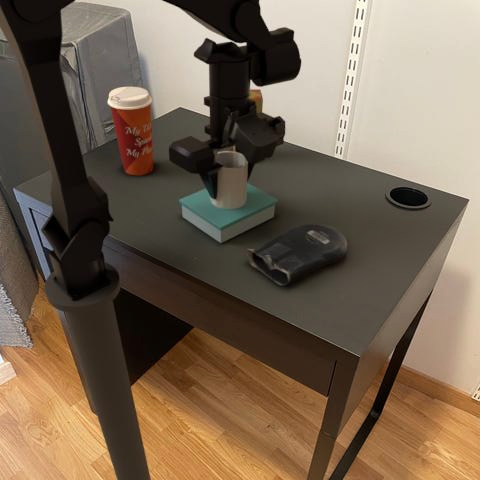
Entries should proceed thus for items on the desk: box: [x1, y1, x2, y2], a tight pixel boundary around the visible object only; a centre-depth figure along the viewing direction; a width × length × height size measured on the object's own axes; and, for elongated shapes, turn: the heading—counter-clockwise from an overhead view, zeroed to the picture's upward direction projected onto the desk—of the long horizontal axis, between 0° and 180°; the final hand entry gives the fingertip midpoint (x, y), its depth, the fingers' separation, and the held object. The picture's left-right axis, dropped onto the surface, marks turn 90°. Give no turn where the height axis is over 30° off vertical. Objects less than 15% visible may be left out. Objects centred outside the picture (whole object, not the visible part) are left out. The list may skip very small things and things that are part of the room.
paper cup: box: [107, 86, 154, 176], centre depth 88 cm, size 8×8×14 cm
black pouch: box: [246, 223, 348, 286], centre depth 73 cm, size 9×6×15 cm
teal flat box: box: [178, 182, 279, 244], centre depth 81 cm, size 13×11×3 cm
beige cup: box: [210, 150, 248, 209], centre depth 77 cm, size 6×6×7 cm
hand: (228, 191), depth 79 cm, fingers closed on beige cup, 6 cm apart
